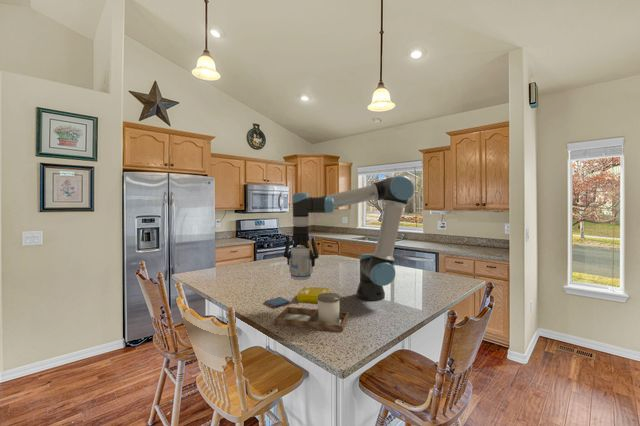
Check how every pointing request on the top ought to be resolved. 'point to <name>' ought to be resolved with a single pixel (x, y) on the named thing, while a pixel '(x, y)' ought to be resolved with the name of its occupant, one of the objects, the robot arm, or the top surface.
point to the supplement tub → (300, 263)
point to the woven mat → (277, 302)
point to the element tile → (310, 294)
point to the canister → (328, 308)
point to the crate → (309, 319)
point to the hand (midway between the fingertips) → (301, 272)
